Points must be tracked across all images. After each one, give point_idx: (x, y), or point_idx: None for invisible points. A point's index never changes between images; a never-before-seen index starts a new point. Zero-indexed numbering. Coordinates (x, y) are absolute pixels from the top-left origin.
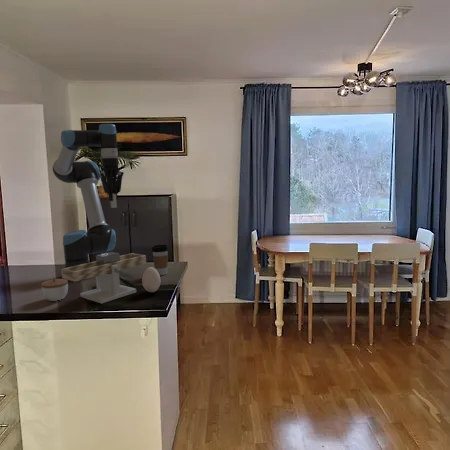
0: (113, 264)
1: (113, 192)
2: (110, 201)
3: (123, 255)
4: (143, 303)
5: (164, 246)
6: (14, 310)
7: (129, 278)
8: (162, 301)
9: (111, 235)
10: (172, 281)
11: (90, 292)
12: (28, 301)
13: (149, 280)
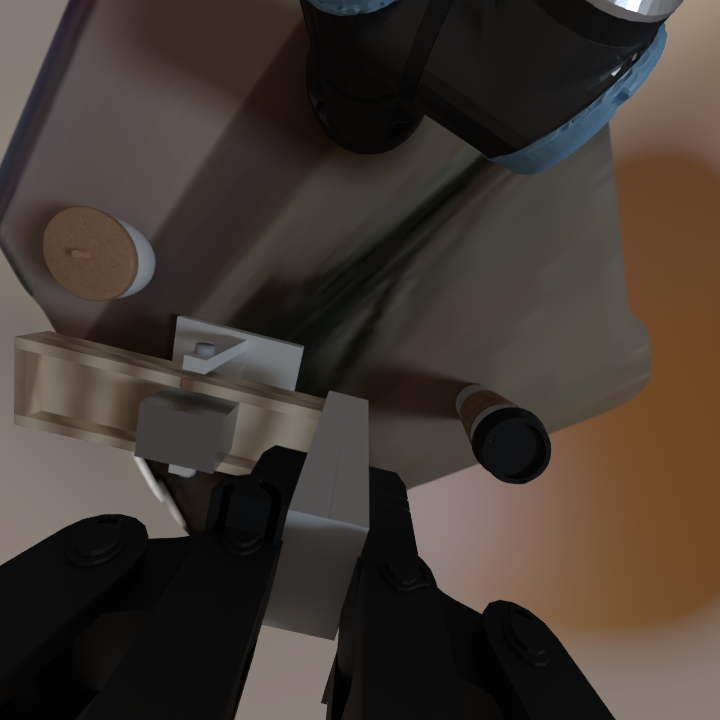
0: None
1: (351, 603)
2: (318, 423)
3: (301, 413)
4: None
5: (504, 481)
6: (10, 217)
7: (395, 330)
8: None
9: (541, 142)
10: (405, 478)
11: (198, 340)
12: (75, 182)
13: None
